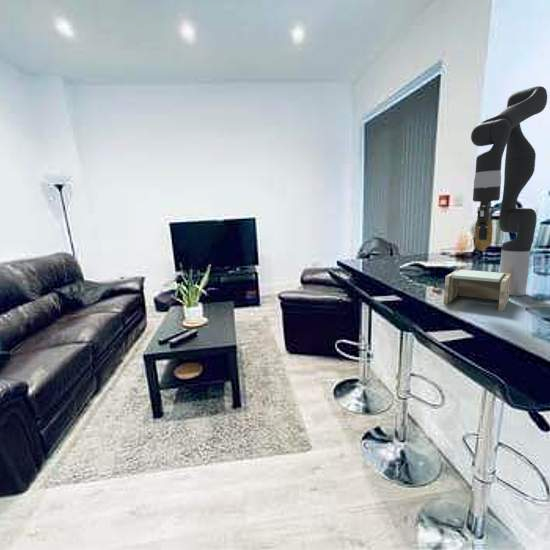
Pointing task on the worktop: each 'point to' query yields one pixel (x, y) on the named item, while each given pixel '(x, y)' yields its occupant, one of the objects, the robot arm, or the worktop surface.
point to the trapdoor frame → (478, 289)
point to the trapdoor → (478, 275)
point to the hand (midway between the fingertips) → (483, 239)
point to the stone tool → (483, 243)
